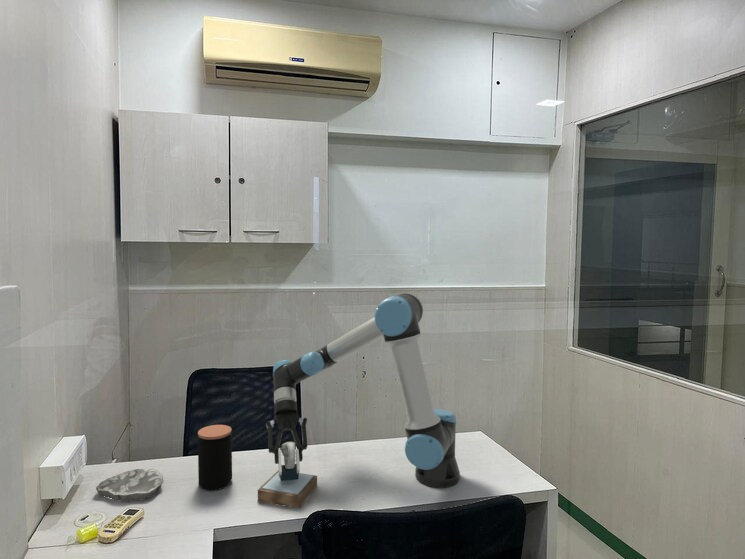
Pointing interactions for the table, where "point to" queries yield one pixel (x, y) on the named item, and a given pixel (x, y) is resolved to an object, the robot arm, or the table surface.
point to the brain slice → (131, 485)
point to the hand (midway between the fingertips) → (289, 472)
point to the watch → (289, 462)
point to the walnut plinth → (287, 490)
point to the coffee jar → (214, 457)
